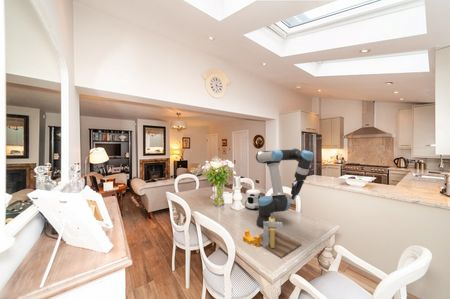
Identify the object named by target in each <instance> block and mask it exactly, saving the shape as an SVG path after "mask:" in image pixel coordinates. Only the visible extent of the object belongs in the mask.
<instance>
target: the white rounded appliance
mask: <svg viewBox="0 0 450 299" xmlns="http://www.w3.org/2000/svg"><path fill="white" fill-rule="evenodd" d="M245 196H246V197H245V202H244V204H245V207H246V208H247V209H249V210H258V202H259V198H260V197H262V193H261V190H259V189H257V188H256V189H255V188H251V189H247V190H246V192H245Z"/></svg>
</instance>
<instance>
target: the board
mask: <svg viewBox="0 0 450 299" xmlns="http://www.w3.org/2000/svg"><path fill="white" fill-rule="evenodd" d="M257 236H260V246H259V247H262V248H264V244H263V233H261V234H259V235H257ZM252 238H253V239H255V238H256V236H255V237H252ZM302 246H303V245H302V243H300V242H299V241H296V240H295V239H292V238H290V237H288V236H287V235H284V234H282V233H280V232H278V231H276V230H275V248H271V247H270V234H269V230H268V247H265V248H264V249H265V250H267V251H268V252H270V253H271V254H274V255H275V256H276V257H279V259H283V258H285V257H286V256H288V255H289V254H291V253H292V252H294V251H296V250H297V249H299V248H301V247H302Z"/></svg>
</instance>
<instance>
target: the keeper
mask: <svg viewBox="0 0 450 299" xmlns="http://www.w3.org/2000/svg"><path fill="white" fill-rule="evenodd" d="M283 224H284V223H283V222H282V221H275V222H272V221H263V228H262V229H263V232H262V234H263V244H264V247H263V249H265V247H268V231H269V229H268V226H272V227H275V228H283V226H284V225H283Z"/></svg>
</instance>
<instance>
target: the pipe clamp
mask: <svg viewBox="0 0 450 299" xmlns="http://www.w3.org/2000/svg"><path fill="white" fill-rule="evenodd" d="M255 237H256V238H255V239H253V238H254V237H252V236H251V234H250V230H248V229H245V230H244V235H243V236H242V241H243V242H245V243H246V242H247V243H246V244H249V245H253V246H255V247H257V248H259V247H261V246H260V236H258V235H256V236H255Z"/></svg>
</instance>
